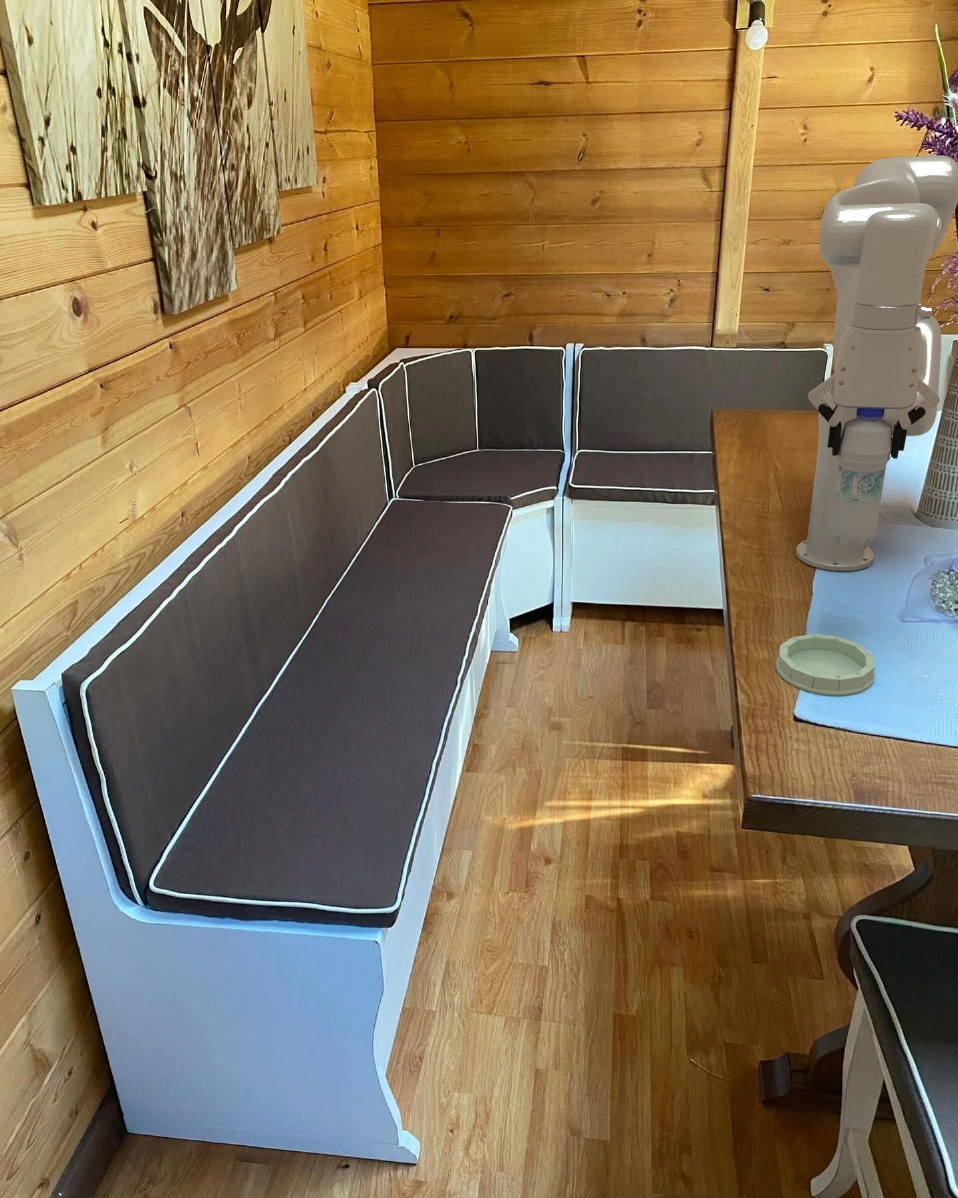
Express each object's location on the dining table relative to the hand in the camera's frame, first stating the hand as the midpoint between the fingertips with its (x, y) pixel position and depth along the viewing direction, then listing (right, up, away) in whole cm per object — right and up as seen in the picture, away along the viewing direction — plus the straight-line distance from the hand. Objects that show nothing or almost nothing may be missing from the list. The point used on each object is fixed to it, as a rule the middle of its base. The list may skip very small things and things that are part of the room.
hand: (864, 453), depth 120 cm
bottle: (+1, -12, +6) cm, 13 cm away
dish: (-5, -29, +2) cm, 30 cm away
